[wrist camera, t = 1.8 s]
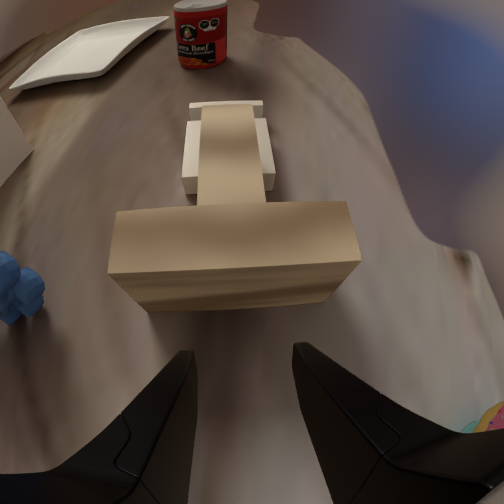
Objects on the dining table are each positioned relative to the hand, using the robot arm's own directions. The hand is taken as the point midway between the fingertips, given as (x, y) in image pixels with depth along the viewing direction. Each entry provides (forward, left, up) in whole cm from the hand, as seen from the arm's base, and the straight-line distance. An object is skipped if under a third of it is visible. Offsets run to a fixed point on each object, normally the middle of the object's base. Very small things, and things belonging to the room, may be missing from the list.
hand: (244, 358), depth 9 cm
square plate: (+60, -20, -13) cm, 65 cm away
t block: (+9, -9, -13) cm, 17 cm away
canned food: (+34, -29, -13) cm, 47 cm away
